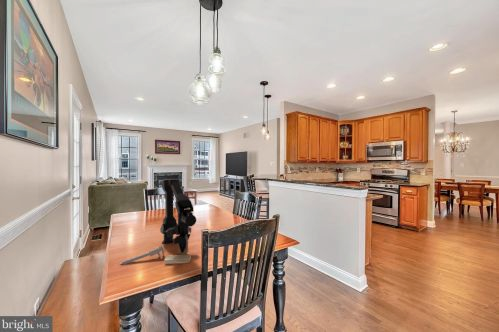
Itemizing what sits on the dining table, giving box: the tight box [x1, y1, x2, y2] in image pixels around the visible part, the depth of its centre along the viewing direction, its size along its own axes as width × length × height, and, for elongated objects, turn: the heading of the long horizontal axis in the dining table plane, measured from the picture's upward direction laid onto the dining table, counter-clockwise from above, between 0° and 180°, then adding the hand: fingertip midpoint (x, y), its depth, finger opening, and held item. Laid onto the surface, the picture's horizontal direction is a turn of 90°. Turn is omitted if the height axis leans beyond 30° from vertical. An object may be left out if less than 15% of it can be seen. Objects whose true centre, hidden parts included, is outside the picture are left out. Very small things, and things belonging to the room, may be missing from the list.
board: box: [164, 254, 192, 265], centre depth 106 cm, size 4×12×2 cm, turn 98°
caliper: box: [118, 245, 165, 266], centre depth 107 cm, size 20×1×6 cm, turn 120°
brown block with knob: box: [177, 241, 189, 255], centre depth 113 cm, size 4×4×6 cm
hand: (183, 250), depth 113 cm, fingers closed on brown block with knob, 4 cm apart
